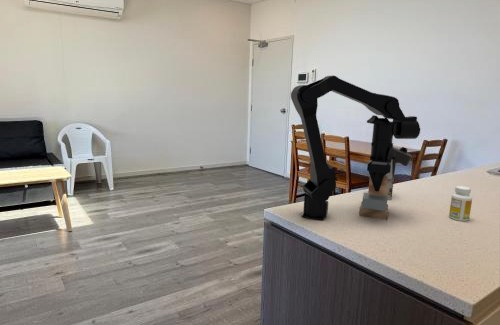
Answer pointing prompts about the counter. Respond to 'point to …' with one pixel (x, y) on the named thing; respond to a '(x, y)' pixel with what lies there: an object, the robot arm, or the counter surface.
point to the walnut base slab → (373, 213)
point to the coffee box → (390, 180)
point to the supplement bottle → (461, 204)
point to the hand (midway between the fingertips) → (377, 189)
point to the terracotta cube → (382, 187)
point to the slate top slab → (374, 202)
